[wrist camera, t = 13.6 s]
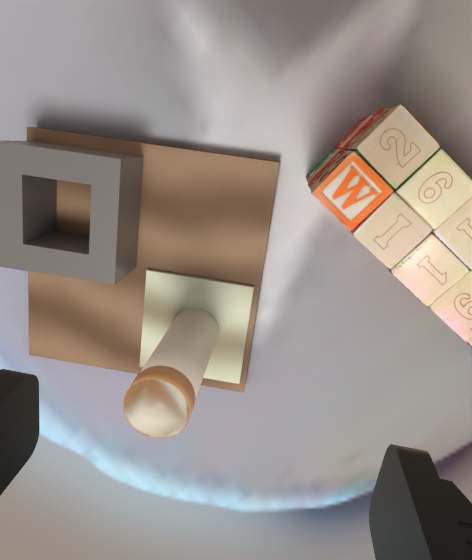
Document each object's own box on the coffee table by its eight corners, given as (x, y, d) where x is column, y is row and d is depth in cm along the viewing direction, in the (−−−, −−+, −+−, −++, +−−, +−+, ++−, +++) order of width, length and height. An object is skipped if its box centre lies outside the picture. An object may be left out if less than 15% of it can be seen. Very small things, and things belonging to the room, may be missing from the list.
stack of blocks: (544, 305, 36) (665, 381, 25) (479, 353, 38) (564, 446, 27) (362, 115, 34) (401, 100, 22) (302, 176, 36) (309, 193, 24)
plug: (173, 303, 38) (124, 373, 26) (221, 311, 37) (193, 384, 26) (170, 347, 39) (121, 432, 28) (216, 355, 39) (186, 443, 27)
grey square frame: (33, 141, 35) (-7, 140, 31) (143, 156, 35) (121, 158, 30) (33, 250, 38) (-3, 266, 33) (136, 267, 38) (114, 285, 33)
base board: (37, 127, 37) (24, 126, 35) (279, 161, 35) (279, 162, 33) (37, 347, 43) (26, 356, 41) (245, 383, 41) (243, 394, 40)
